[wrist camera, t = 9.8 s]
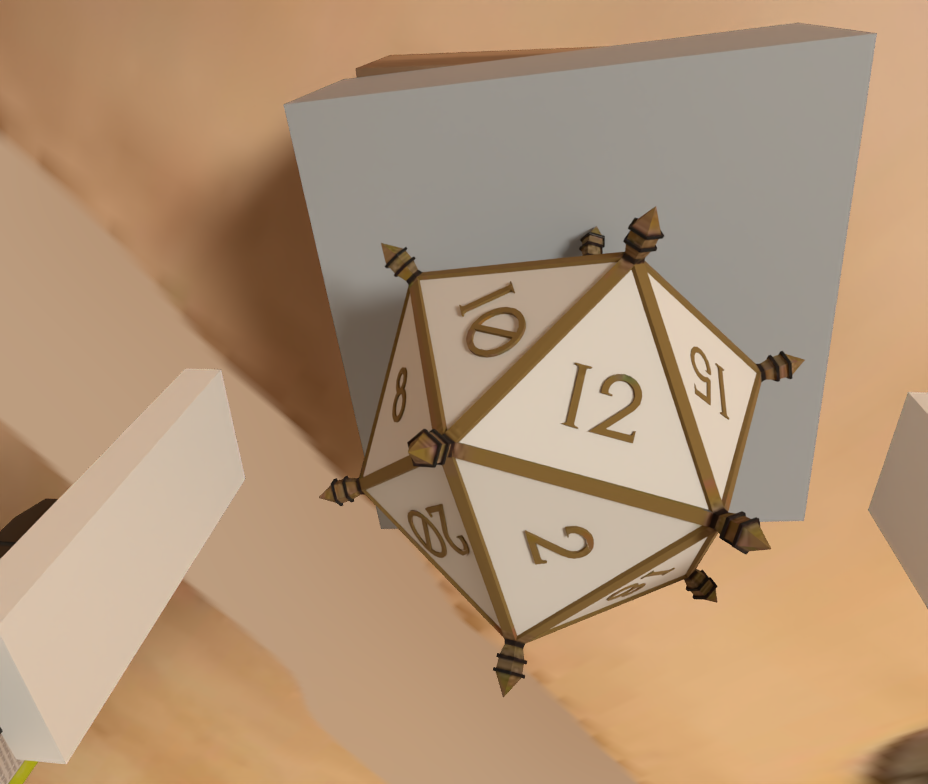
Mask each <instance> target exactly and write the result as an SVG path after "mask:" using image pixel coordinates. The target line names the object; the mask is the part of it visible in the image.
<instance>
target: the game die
mask: <svg viewBox="0 0 928 784" xmlns="http://www.w3.org/2000/svg"><path fill="white" fill-rule="evenodd" d="M628 229H629V230H630V232H629V233H628V234H627V236H626V237H625V238H624V241H623V242H624V243H625V244H626V247H625V252H615V253H605V254H603V248H604V247H605V236H604V235H602V234H601V233H600V231H599V229H598V227H597V226H596V227H595V228H594V229H593V230H592V231H591V232H588V233H587V234H586V235H584V236H583V237H582V238H581V239H580V241H581V242H582V246H580V247H579V250H580V251H581V252H582V256H576V257H566V258H556V259H546V260H537V261H527V262H517V263H507V264H497V265H488V266H478V267H468V268H458V269H448V270H439V271H429V272H421V271H420V270H418V268H417V266H416V264H415V262H414V260H415V259H416V258H415V257H414V256H413V257H411V256H410V255H409V254H408V253H407V252H406V250H407V249H408V248H407V247H405V248H399V247H396V246H392V245H388V244H384V243H381V246H382V250H383V254H384V258H385V262H386V265H385V266H384V267H385V268H390V269H391V270H392V271H393V272H394V273H395V274H394V276H395V277H398V276H399V277H400V278H402V279H403V280H405V281H406V282H407V283H408V289H407V293H406V297H405V301H404V305H403V309H402V313H401V317H400V320H399V324H398V328H397V332H396V336H395V340H394V344H393V348H392V352H391V356H390V360H389V363H388V367H387V371H386V375H385V379H384V383H383V387H382V391H381V395H380V399H379V403H378V406H377V410H376V414H375V418H374V422H373V426H372V430H371V434H370V438H369V442H368V446H367V449H366V453H365V457H364V461H363V465H362V469H361V473H360V477H359V478H357V479H356V478H348V476H345V477H344V479H342V480H337V478H336V479H334V480H333V481H332V483H331V486H330V487H329V488H328V489H327V490H326V491H325V492H324V493H323V494H322V495H321V496H320V497H319V498H321V499H325V500H329V501H333V502H336V503H337V504H339V505H340V506H342V505H343V503H344V502H347V501H350V502H354V498H355V497H357V496H359V495H360V494H365V495H366V496H367V497H368V498H369V499H370V500H371V501H372V502H373V503H374V504H375V505H376V506H377V507H378V508H379V509H380V510H381V511H382V512H383V513H384V514H385V515H386V516H387V517H388V519H389V520H390V521H391V522H392V523H393V524H394V525H395V526H396V527H397V528H398V529H399V530H400V531H401V532H402V533H403V534H404V535H405V536H406V537H407V538H408V539H409V540H410V541H411V542H412V543H413V544H414V545H415V546H416V547H417V548H418V550H419V551H420V552H421V553H422V554H423V555H424V556H425V557H426V558H427V559H428V560H429V561H430V562H431V563H432V564H433V565H434V566H435V567H436V568H437V569H438V570H439V571H440V572H441V573H442V574H443V575H444V576H445V577H446V578H447V580H448V581H449V582H450V583H451V584H452V585H453V586H454V587H455V588H456V589H457V590H458V591H459V592H460V593H461V594H462V595H463V596H464V597H465V598H466V599H467V600H468V601H469V602H470V603H471V604H472V605H473V606H474V607H475V608H476V610H477V611H478V612H479V613H480V614H481V615H482V616H483V617H484V618H485V619H486V620H487V621H488V622H489V623H490V624H491V625H492V626H493V627H494V628H495V629H496V630H497V631H498V632H499V633H500V634H501V635H502V636H503V637H504V639H505V645H504V647H503V649H502V651H501V653H500V654H499V653H497V657H498V658H499V659H498V663H497V667H496V668H495V667H494V668H493V670H494V671H496V674H497V678H498V681H499V685H500V688H501V691H502V695H503V697H504V696H505V695H506V694H507V693H508V692H509V691H510V690H511V689H512V687H513V686H514V685H515V684H516V683H517V682H518V681H519V680H520V679H521V678H525V675H522V672H523V665H524V664H527V661H526V660H524V654H523V647H524V645H525V644H526V643H528V642H530V641H533V640H535V639H538V638H540V637H543V636H545V635H548V634H550V633H553V632H555V631H557V630H560V629H562V628H565V627H567V626H570V625H572V624H575V623H577V622H580V621H582V620H585V619H587V618H589V617H592V616H594V615H597V614H599V613H602V612H604V611H607V610H609V609H612V608H614V607H617V606H619V605H621V604H624V603H626V602H629V601H631V600H634V599H636V598H639V597H641V596H644V595H646V594H648V593H651V592H653V591H656V590H658V589H661V588H663V587H666V586H668V585H671V584H673V583H676V582H678V581H680V580H683V579H684V580H685V583H686V585H687V587H686V590H687V591H691V592H692V593H693V598H694V599H704V600H709V601H713V602H717V597H716V588H717V585H716V584H715V582H714V581H713V580H712V579H711V578H710V577H708V576H707V575H706V573H705V572H704V571H703V570H701V571H699V570H697V569H696V568H697V566H698V564H699V563H700V561H701V560H702V558H703V556H704V555H705V553H706V552H707V550H708V548H709V547H710V545H711V543H712V542H713V540H714V539H715V537H716V535H717V534H718V533H719V534H720V537H719V538H720V539H722V540H724V541H725V542H727V543H729V544H730V545H732V547H734V548H736V549H737V550H739V551H741V552H742V553H744V554H747V553H748V552H749V551H756V550H767V549H771V547H770V546H769V544H768V542H767V540H766V538H765V536H764V534H763V532H762V530H761V528H760V521H759V518H757V517H755V518H753V519H750V518H748V517H746V513H745V512H743V511H741V512H739V513H730V512H728V511H729V508H730V504H731V500H732V496H733V492H734V488H735V484H736V480H737V476H738V472H739V468H740V465H741V461H742V457H743V453H744V449H745V445H746V441H747V437H748V433H749V429H750V425H751V422H752V418H753V414H754V410H755V406H756V402H757V398H758V394H759V390H760V386H761V382H763V381H764V380H774V381H776V382H779V381H780V379H782V378H788V379H793V377H792V375H793V374H794V372H795V371H796V370H797V369H798V368H799V367H800V365H801V364H802V363H803V362H804V361H805V360H804V359H801V358H798V357H794V356H791V355H788V354H785V353H784V352H783V351H780V352H779V355H776V356H773V357H772V355H768V357H767V359H766V360H765V361H763V362H762V363H760V364H755V363H754V362H753V361H752V360H751V359H750V358H749V357H748V356H747V355H746V354H745V353H744V352H742V351H741V350H740V349H739V348H738V347H737V346H736V345H735V344H734V343H733V342H732V341H731V340H730V339H729V338H727V337H726V336H725V335H724V334H723V333H722V332H721V331H720V330H719V329H718V328H717V327H716V326H715V325H713V324H712V323H711V322H710V321H709V320H708V319H707V318H706V317H705V316H704V315H703V314H702V313H701V312H700V311H698V310H697V309H696V308H695V307H694V306H693V305H692V304H691V303H690V302H689V301H688V300H687V299H686V298H685V297H683V296H682V295H681V294H680V293H679V292H678V291H677V290H676V289H675V288H674V287H673V286H672V285H671V284H669V283H668V282H667V281H666V280H665V279H664V278H663V277H662V276H661V275H660V274H659V273H658V272H657V271H656V270H654V269H653V268H652V267H651V266H650V265H649V264H648V263H647V262H646V261H645V258H646V256H647V255H648V254H649V253H650V252H653V251H656V250H657V246H656V243H657V241H658V240H659V239H663V237H664V234H663V233H662V231H661V230H660V225H659V219H658V213H657V208H656V206H655V207H654V208H652V209H651V210H650V211H648V212H647V213H645V214H644V215H642V216H641V217H640V218H634V219H633V221H632V222H631V223H630V225H629V227H628Z"/></svg>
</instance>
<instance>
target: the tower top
mask: <svg viewBox="0 0 928 784" xmlns="http://www.w3.org/2000/svg"><path fill="white" fill-rule="evenodd" d="M876 35H877V33H871V32H863V31H856V30H848V29H841V28H833V27H826V26H818V25H811V24H803V23H793V24H785V25H777V26H769V27H761V28H753V29H745V30H737V31H729V32H720V33H712V34H704V35H696V36H688V37H680V38H672V39H664V40H656V41H648V42H640V43H632V44H624V45H616V46H608V47H600V48H592V49H584V50H576V51H567V52H559V53H551V54H543V55H535V56H527V57H519V58H511V59H503V60H495V61H487V62H479V63H471V64H463V65H455V66H447V67H439V68H431V69H423V70H414V71H406V72H398V73H390V74H382V75H374V76H366V77H358V78H350V79H343V80H341V81H338V82H336V83H333V84H331V85H329V86H326V87H324V88H322V89H319V90H317V91H314V92H312V93H310V94H307V95H305V96H302V97H300V98H298V99H295V100H293V101H291V102H288V103H286V104H284V108H285V113H286V117H287V121H288V126H289V130H290V135H291V139H292V143H293V148H294V152H295V156H296V161H297V165H298V169H299V174H300V178H301V182H302V187H303V191H304V196H305V200H306V204H307V209H308V213H309V217H310V222H311V226H312V230H313V235H314V239H315V243H316V248H317V252H318V256H319V261H320V265H321V270H322V274H323V278H324V283H325V287H326V291H327V296H328V300H329V304H330V309H331V313H332V317H333V322H334V326H335V330H336V335H337V339H338V344H339V348H340V352H341V357H342V361H343V365H344V370H345V374H346V378H347V383H348V387H349V391H350V396H351V400H352V405H353V409H354V413H355V418H356V422H357V426H358V431H359V435H360V439H361V444H362V448H363V452H364V457H365V453H366V449H367V446H368V442H369V438H370V434H371V430H372V426H373V422H374V418H375V414H376V410H377V406H378V403H379V399H380V395H381V391H382V387H383V383H384V379H385V375H386V371H387V367H388V363H389V360H390V356H391V352H392V348H393V344H394V340H395V336H396V332H397V328H398V324H399V320H400V317H401V313H402V309H403V305H404V301H405V297H406V293H407V289H408V283H407V282H406V281H405V280H403V279H402V278H400V277H399V276H398V277H395V276H394V274H395V273H394V272H393V271H392V270H391V269H390V268H385V267H384V266H385V265H386V262H385V258H384V254H383V250H382V246H381V243H384V244H388V245H392V246H396V247H399V248H405V247H407V248H408V249H407V250H406V252H407V253H408V254H409V255H410V256H411V257H413V256H414V257H415V258H416V259H415V260H414V262H415V264H416V266H417V268H418V270H420V271H421V272H429V271H439V270H448V269H458V268H468V267H478V266H488V265H497V264H507V263H517V262H527V261H537V260H546V259H556V258H566V257H576V256H582V252H581V251H580V250H579V247H580V246H582V242H581V241H580V239H581V238H582V237H583V236H584V235H586V234H587V233H588V232H591V231H592V230H593V229H594V228H595V227H596V226H597V227H598V229H599V231H600V233H601V234H602V235H604V236H605V247H604V248H603V254H605V253H615V252H625V247H626V244H625V243H624V242H623V241H624V238H625V237H626V236H627V234H628V233H629V232H630V230H629V229H628V227H629V225H630V223H631V222H632V221H633V219H634V218H640V217H641V216H642V215H644V214H645V213H647V212H648V211H650V210H651V209H652V208H654V207H655V206H656V208H657V213H658V219H659V225H660V230H661V231H662V233H663V234H664V237H663V239H659V240H658V241H657V243H656V246H657V250H656V251H653V252H650V253H649V254H648V255H647V256H646V258H645V261H646V262H647V263H648V264H649V265H650V266H651V267H652V268H653V269H654V270H656V271H657V272H658V273H659V274H660V275H661V276H662V277H663V278H664V279H665V280H666V281H667V282H668V283H669V284H671V285H672V286H673V287H674V288H675V289H676V290H677V291H678V292H679V293H680V294H681V295H682V296H683V297H685V298H686V299H687V300H688V301H689V302H690V303H691V304H692V305H693V306H694V307H695V308H696V309H697V310H698V311H700V312H701V313H702V314H703V315H704V316H705V317H706V318H707V319H708V320H709V321H710V322H711V323H712V324H713V325H715V326H716V327H717V328H718V329H719V330H720V331H721V332H722V333H723V334H724V335H725V336H726V337H727V338H729V339H730V340H731V341H732V342H733V343H734V344H735V345H736V346H737V347H738V348H739V349H740V350H741V351H742V352H744V353H745V354H746V355H747V356H748V357H749V358H750V359H751V360H752V361H753V362H754V363H755V364H760V363H762V362H763V361H765V360H766V359H767V357H768V355H772V357H773V356H776V355H779V352H780V351H783V352H784V353H785V354H788V355H791V356H794V357H798V358H801V359H804V360H805V361H804V362H803V363H802V364H801V365H800V367H799V368H798V369H797V370H796V371H795V372H794V374H793V375H792V377H793V379H788V378H782V379H780V381H779V382H776V381H774V380H764V381H763V382H761V386H760V390H759V394H758V398H757V402H756V406H755V410H754V414H753V418H752V422H751V425H750V429H749V433H748V437H747V441H746V445H745V449H744V453H743V457H742V461H741V465H740V468H739V472H738V476H737V480H736V484H735V488H734V492H733V496H732V500H731V504H730V508H729V511H728V512H730V513H739V512H741V511H743V512H745V513H746V517H748V518H750V519H753V518H755V517H757V518H759V521H760V522H769V521H804V517H805V510H806V504H807V497H808V490H809V483H810V477H811V470H812V463H813V457H814V450H815V443H816V437H817V430H818V423H819V417H820V410H821V403H822V396H823V390H824V383H825V376H826V370H827V363H828V356H829V350H830V343H831V336H832V329H833V323H834V316H835V309H836V303H837V296H838V289H839V283H840V276H841V269H842V263H843V256H844V249H845V242H846V236H847V229H848V222H849V216H850V209H851V202H852V196H853V189H854V182H855V176H856V169H857V162H858V155H859V149H860V142H861V135H862V129H863V122H864V115H865V109H866V102H867V95H868V88H869V82H870V75H871V68H872V62H873V55H874V48H875V42H876ZM376 509H377V513H378V518H379V522H380V526H381V529H398V528H397V527H396V526H395V525H394V524H393V523H392V522H391V521H390V520H389V519H388V517H387V516H386V515H385V514H384V513H383V512H382V511H381V510H380V509H379V508H378V507H377V506H376Z"/></svg>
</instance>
